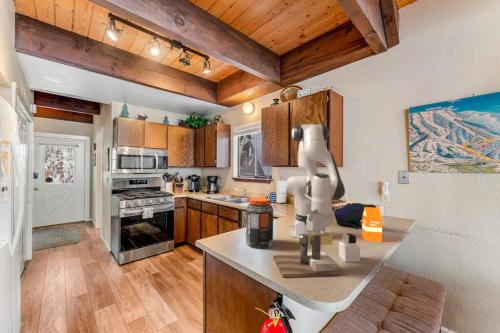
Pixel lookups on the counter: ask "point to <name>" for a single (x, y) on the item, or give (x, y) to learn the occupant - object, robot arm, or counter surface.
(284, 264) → the lock plate
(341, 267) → the counter surface
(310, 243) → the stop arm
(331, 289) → the counter surface
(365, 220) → the orange juice
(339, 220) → the navy cloth bag
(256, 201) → the supplement tub
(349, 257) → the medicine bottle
